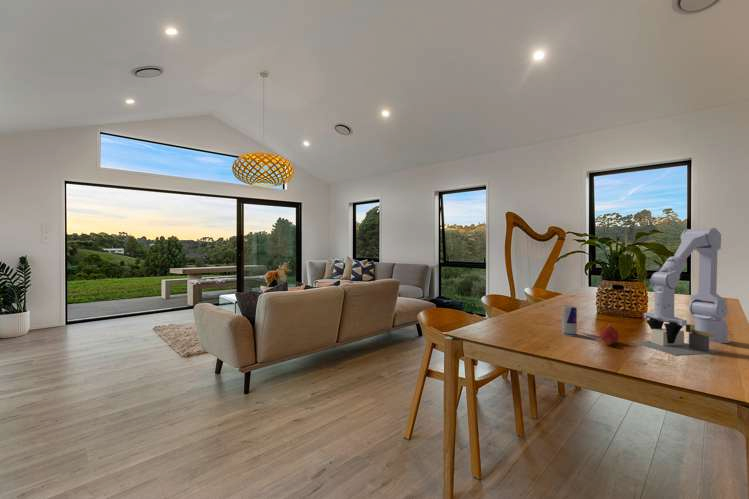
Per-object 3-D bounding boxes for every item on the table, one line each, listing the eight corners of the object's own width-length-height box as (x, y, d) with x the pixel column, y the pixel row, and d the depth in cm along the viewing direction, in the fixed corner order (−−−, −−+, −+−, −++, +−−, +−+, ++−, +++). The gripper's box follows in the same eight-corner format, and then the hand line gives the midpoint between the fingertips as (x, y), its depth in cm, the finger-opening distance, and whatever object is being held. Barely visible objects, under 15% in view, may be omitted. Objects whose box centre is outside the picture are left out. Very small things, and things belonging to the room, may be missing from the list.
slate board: (667, 341, 137) (667, 325, 137) (720, 355, 119) (720, 337, 119) (627, 343, 134) (627, 327, 134) (675, 357, 116) (675, 339, 116)
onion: (596, 343, 134) (596, 322, 134) (610, 342, 134) (610, 322, 134) (607, 347, 128) (608, 326, 128) (622, 347, 129) (622, 325, 128)
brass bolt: (690, 331, 126) (690, 324, 126) (715, 336, 118) (715, 329, 118) (685, 331, 126) (685, 324, 126) (710, 337, 118) (710, 329, 118)
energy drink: (578, 337, 143) (578, 307, 143) (564, 336, 144) (564, 307, 144) (573, 333, 148) (574, 305, 148) (560, 333, 149) (560, 305, 149)
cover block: (671, 341, 133) (671, 328, 133) (684, 344, 128) (684, 330, 128) (651, 342, 131) (651, 329, 131) (663, 345, 127) (663, 331, 127)
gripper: (637, 301, 136) (637, 336, 136) (675, 308, 122) (674, 347, 122) (652, 301, 137) (652, 335, 137) (691, 307, 123) (691, 346, 123)
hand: (664, 341), depth 129 cm, fingers closed on cover block, 4 cm apart
